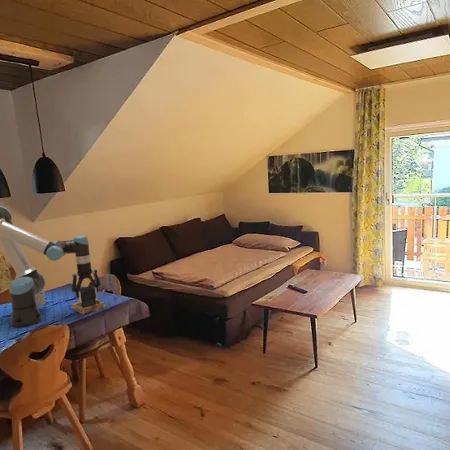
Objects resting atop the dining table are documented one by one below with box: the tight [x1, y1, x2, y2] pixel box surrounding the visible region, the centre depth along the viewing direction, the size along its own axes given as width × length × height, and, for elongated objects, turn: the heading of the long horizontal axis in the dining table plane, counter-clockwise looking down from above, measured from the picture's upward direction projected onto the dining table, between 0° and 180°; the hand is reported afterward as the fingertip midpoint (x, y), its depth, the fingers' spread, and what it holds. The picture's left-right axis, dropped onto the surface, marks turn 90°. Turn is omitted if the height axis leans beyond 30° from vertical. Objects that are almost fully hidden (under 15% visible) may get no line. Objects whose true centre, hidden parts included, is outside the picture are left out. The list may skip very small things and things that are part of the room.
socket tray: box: [71, 298, 106, 315], centre depth 234 cm, size 14×14×3 cm
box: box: [79, 285, 96, 308], centre depth 233 cm, size 8×6×11 cm
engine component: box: [35, 271, 47, 308], centre depth 245 cm, size 11×20×10 cm
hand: (88, 300), depth 233 cm, fingers closed on box, 9 cm apart
